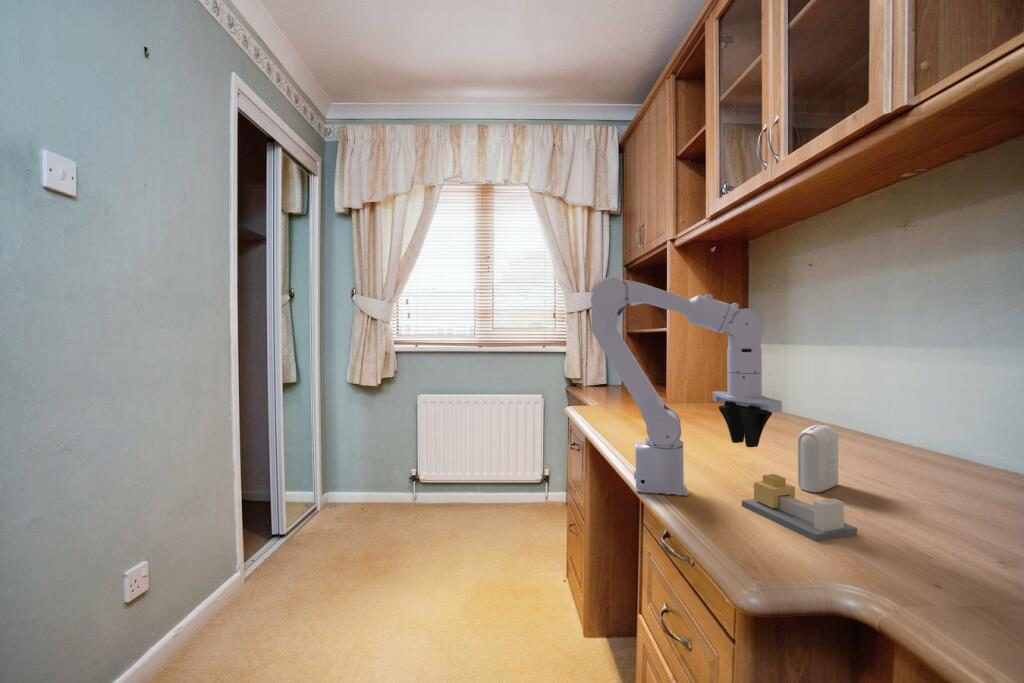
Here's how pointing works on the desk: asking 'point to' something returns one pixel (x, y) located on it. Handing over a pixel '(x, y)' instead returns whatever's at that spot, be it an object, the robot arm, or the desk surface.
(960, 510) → the desk surface
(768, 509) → the rail board
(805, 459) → the photo printer
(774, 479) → the slider
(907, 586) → the desk surface
